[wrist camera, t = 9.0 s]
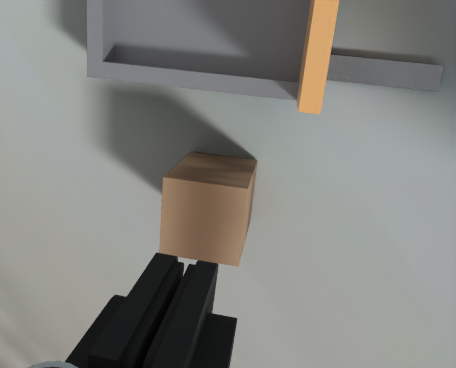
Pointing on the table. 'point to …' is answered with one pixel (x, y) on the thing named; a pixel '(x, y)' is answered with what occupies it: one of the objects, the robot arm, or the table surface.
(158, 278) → the robot arm
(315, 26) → the grey and tan frame
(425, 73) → the rail track
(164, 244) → the walnut block
